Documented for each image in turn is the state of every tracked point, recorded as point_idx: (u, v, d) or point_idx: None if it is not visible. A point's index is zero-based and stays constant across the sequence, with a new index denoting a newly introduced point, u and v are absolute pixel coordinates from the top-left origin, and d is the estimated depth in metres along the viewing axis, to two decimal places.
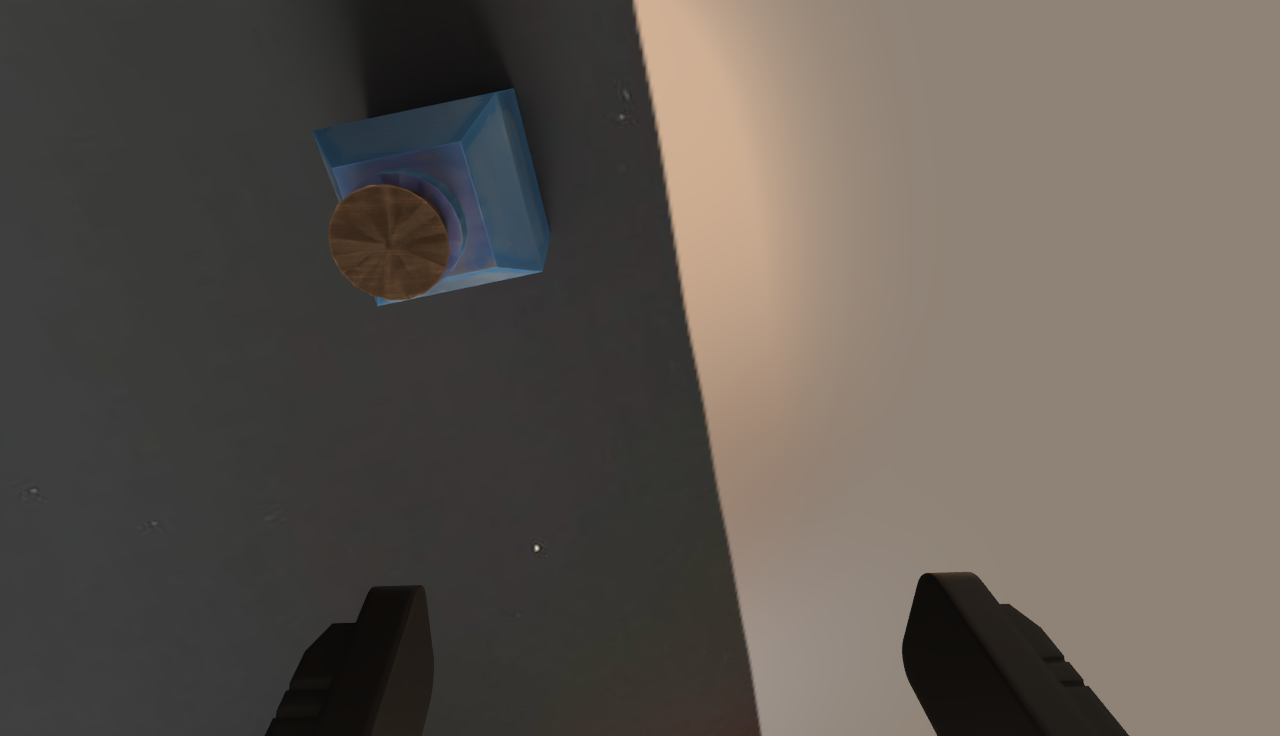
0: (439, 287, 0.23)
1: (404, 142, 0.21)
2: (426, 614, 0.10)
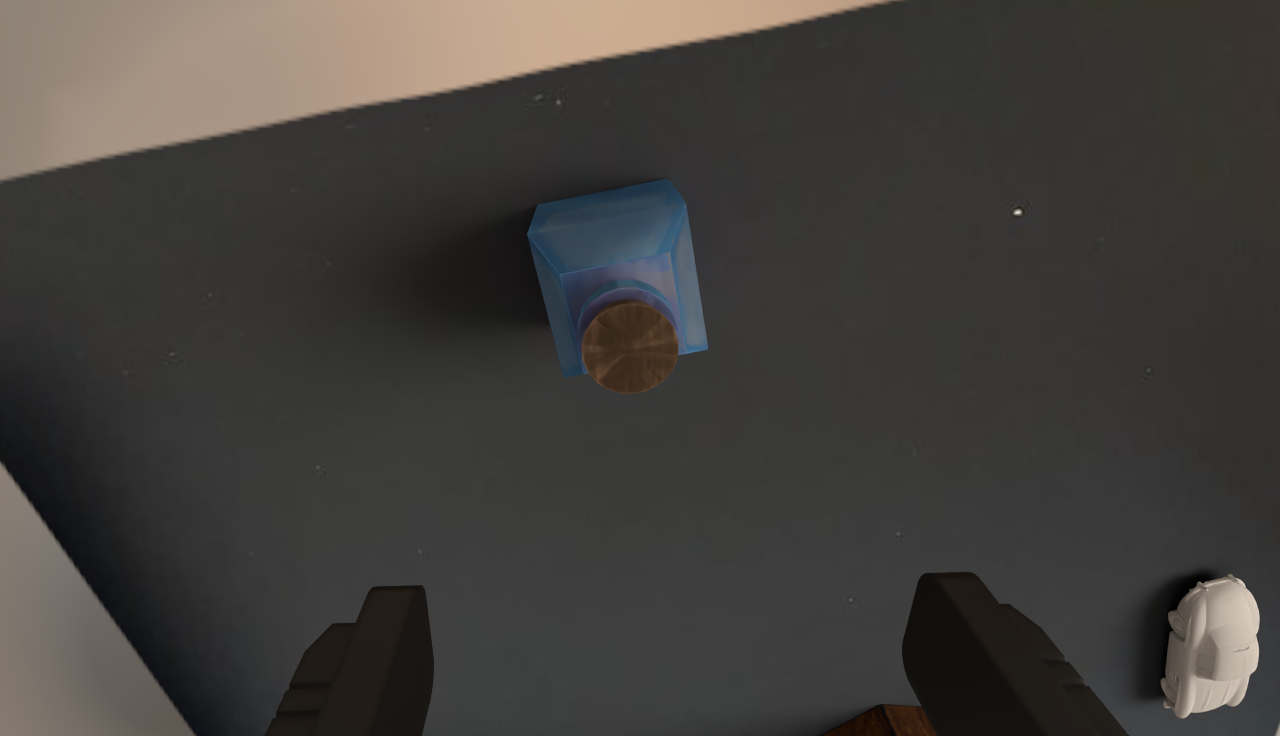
0: (691, 299, 0.26)
1: (564, 316, 0.25)
2: (426, 614, 0.10)
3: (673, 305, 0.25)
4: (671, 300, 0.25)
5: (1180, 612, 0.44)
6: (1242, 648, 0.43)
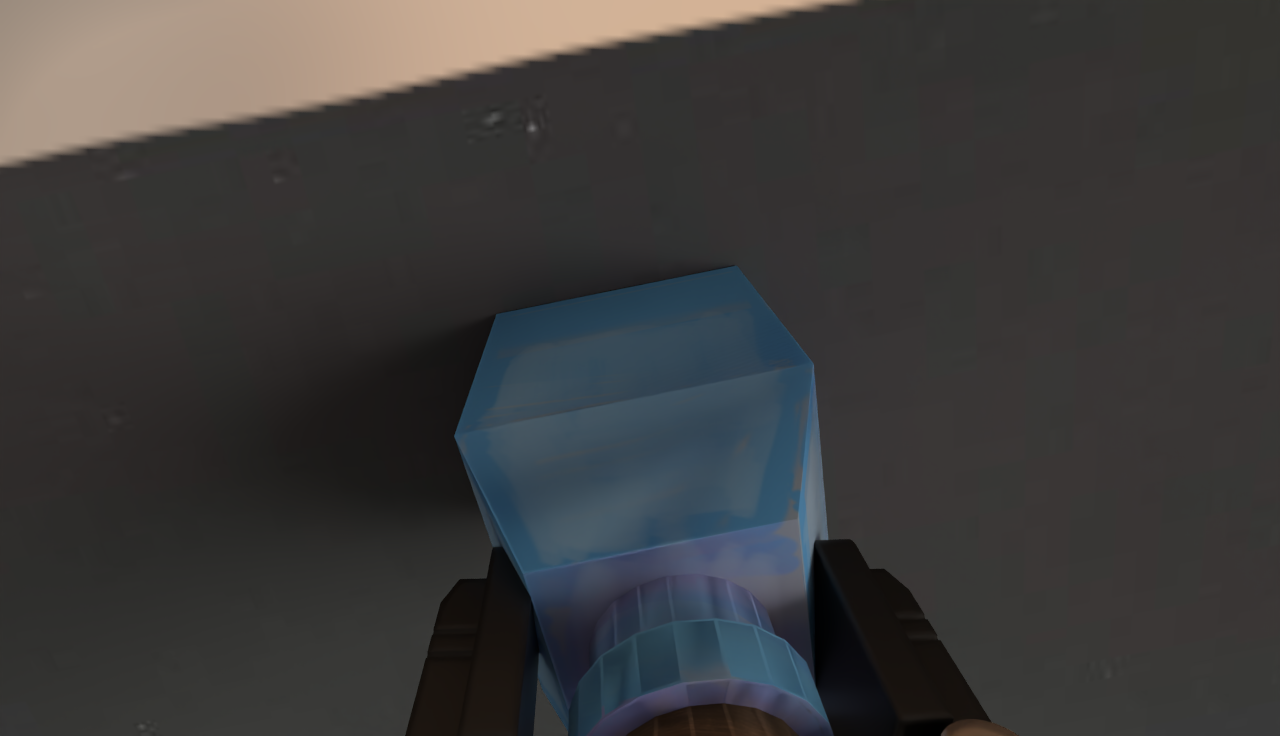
0: None
1: (538, 636, 0.11)
2: None
3: (798, 623, 0.10)
4: (794, 614, 0.10)
5: None
6: None
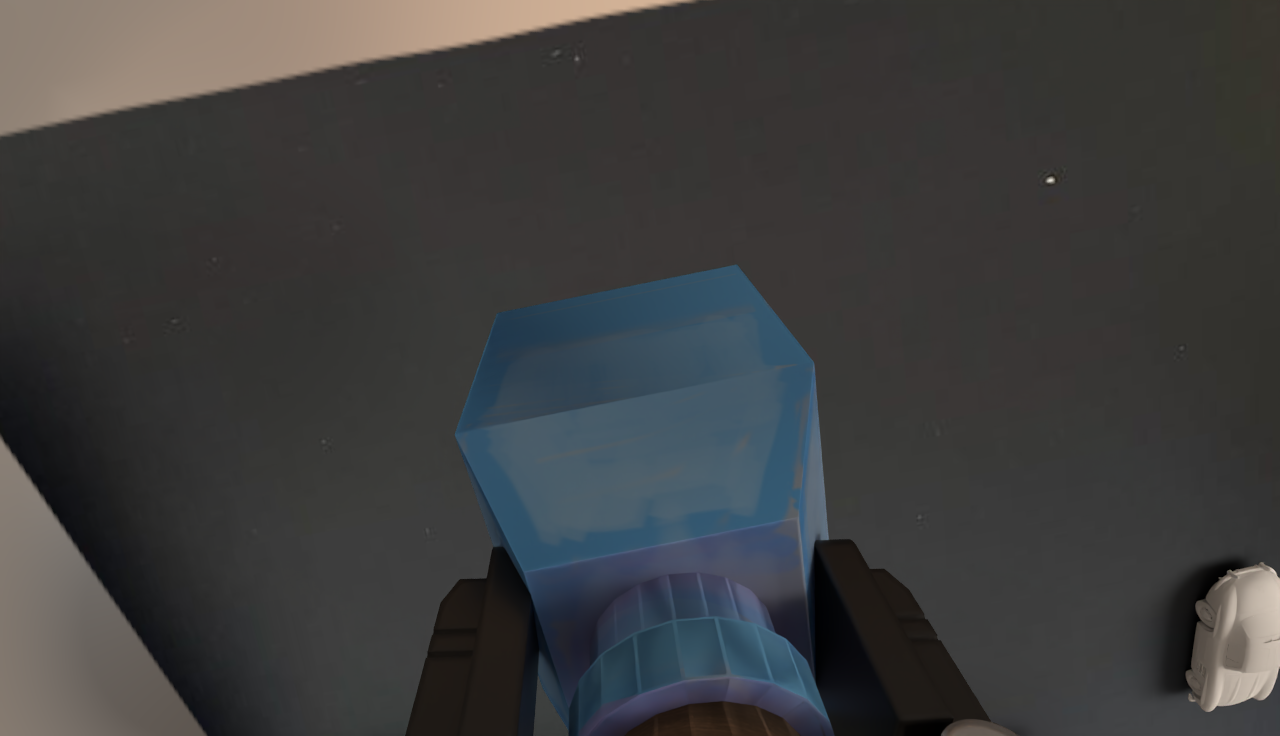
0: None
1: (538, 635, 0.11)
2: None
3: (798, 621, 0.10)
4: (794, 613, 0.10)
5: (1209, 601, 0.43)
6: (1274, 638, 0.41)
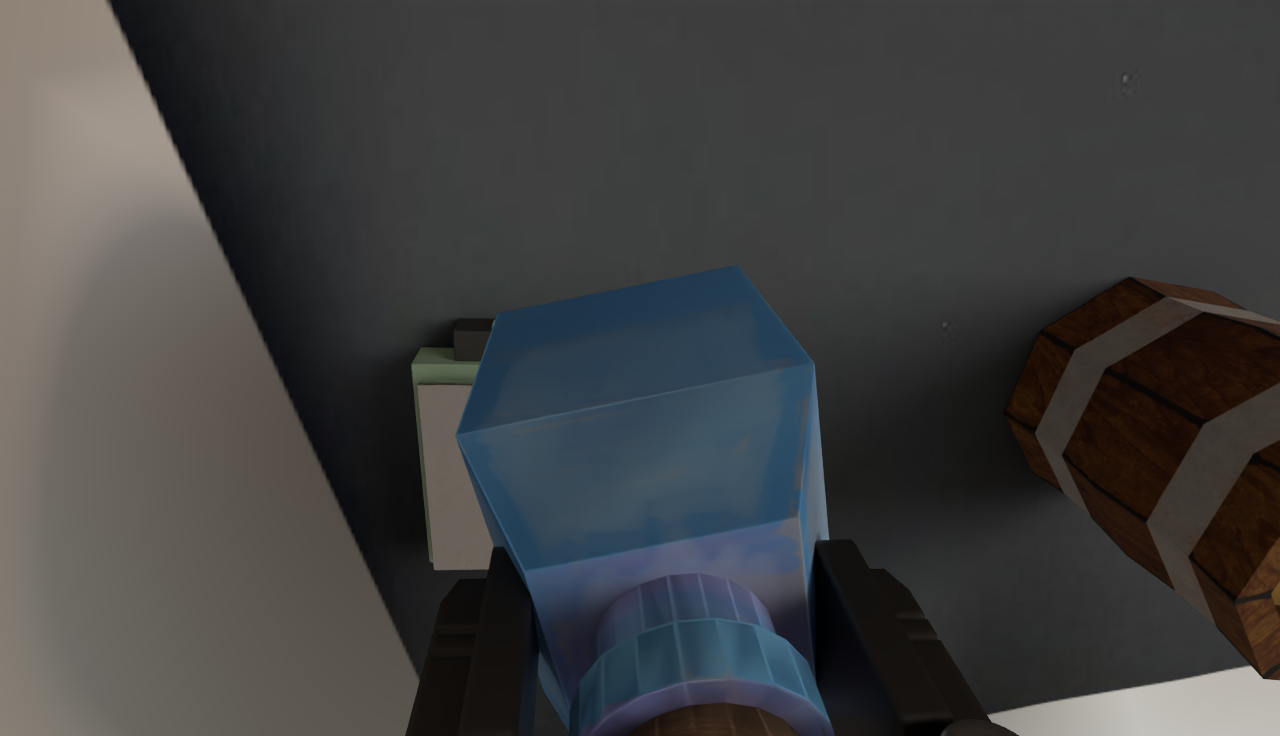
0: None
1: (538, 635, 0.11)
2: None
3: (799, 623, 0.10)
4: (795, 613, 0.10)
5: None
6: None
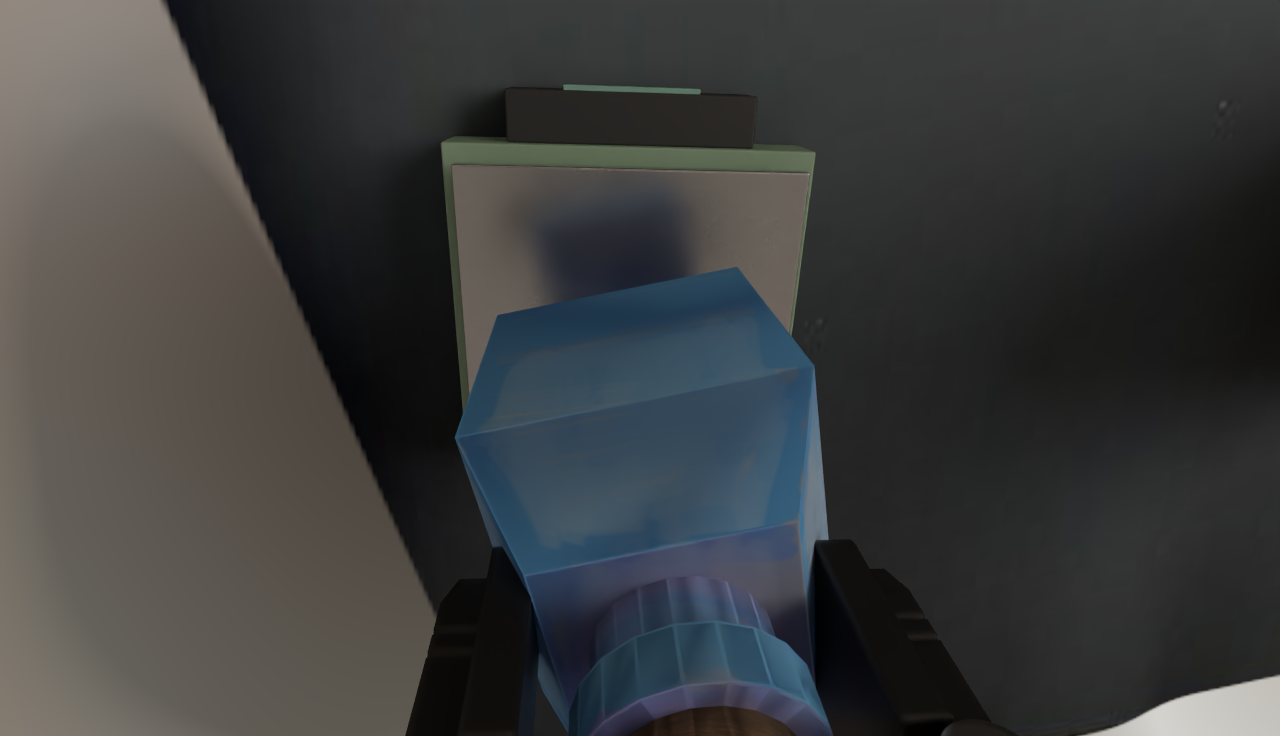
0: None
1: (538, 638, 0.11)
2: None
3: (798, 625, 0.10)
4: (794, 616, 0.10)
5: None
6: None
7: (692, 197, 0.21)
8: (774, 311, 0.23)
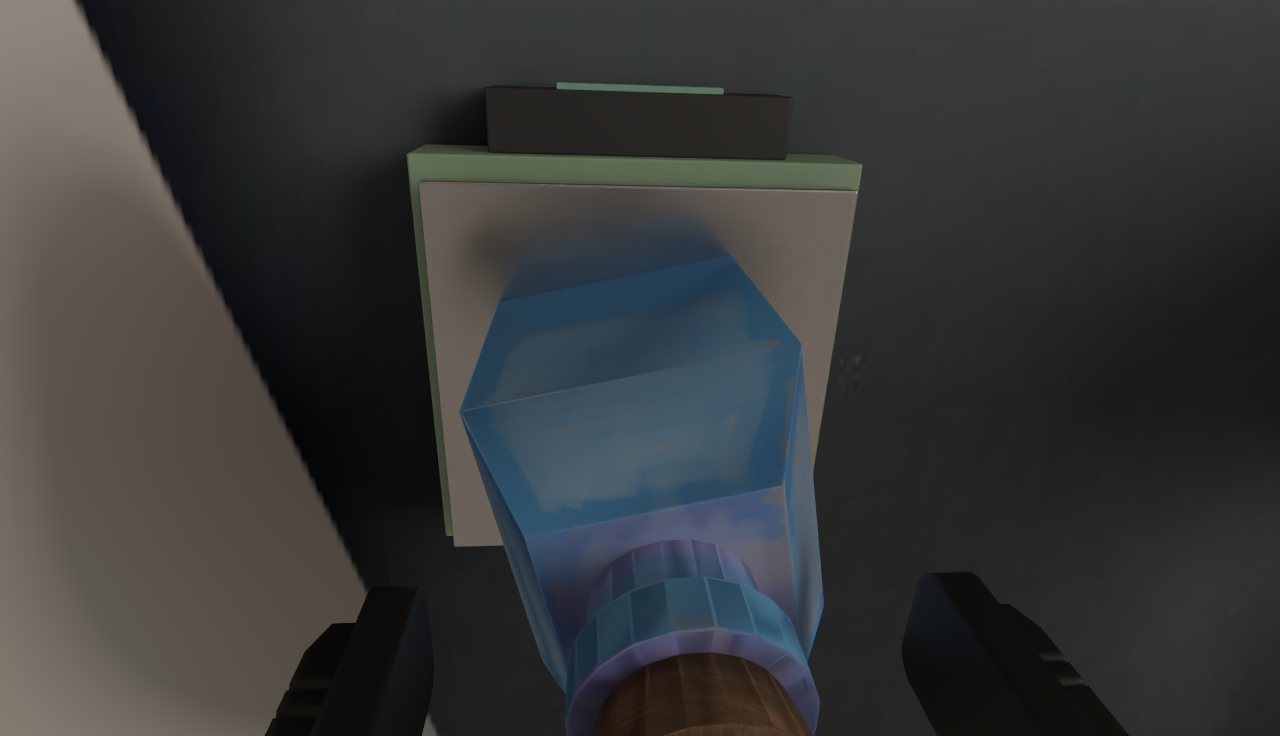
0: (808, 542, 0.12)
1: (538, 601, 0.11)
2: (426, 614, 0.10)
3: (785, 588, 0.11)
4: (781, 579, 0.11)
5: None
6: None
7: (714, 220, 0.17)
8: (810, 354, 0.19)
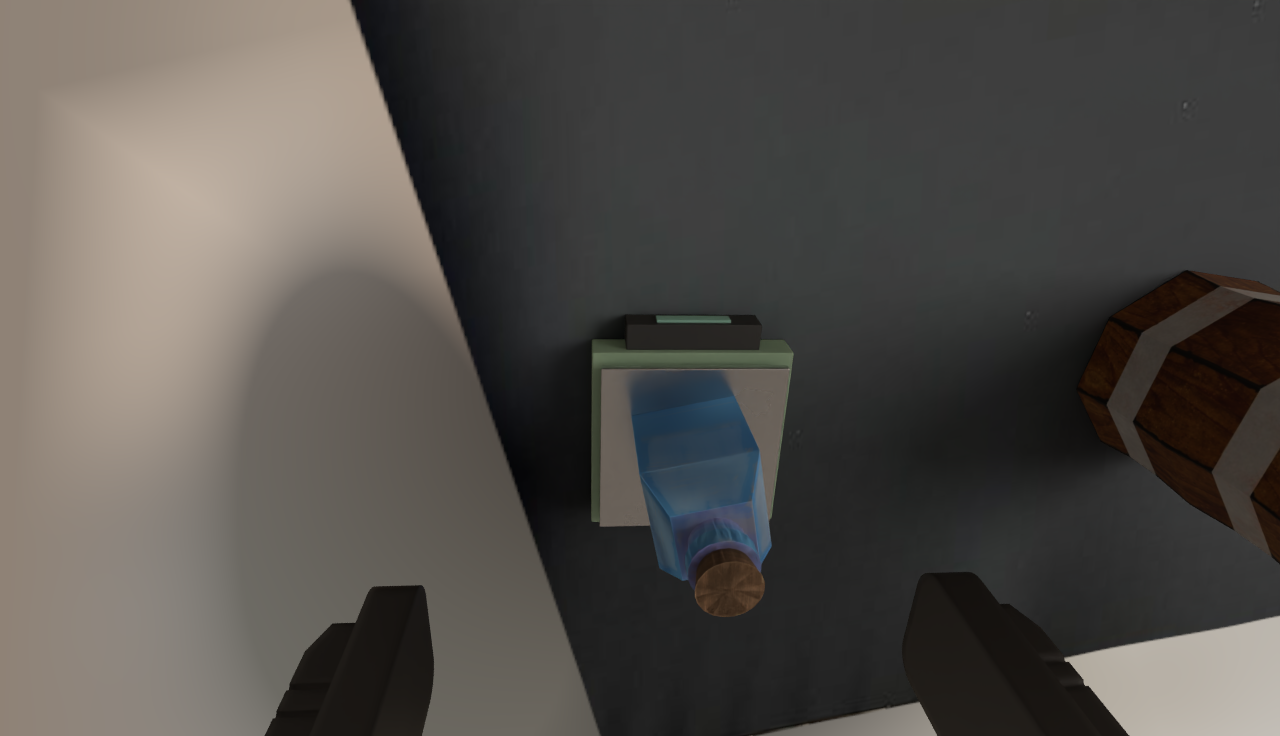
0: (762, 520, 0.34)
1: (669, 539, 0.33)
2: (426, 614, 0.10)
3: (753, 534, 0.33)
4: (751, 531, 0.33)
5: None
6: None
7: (727, 381, 0.39)
8: (770, 437, 0.41)
